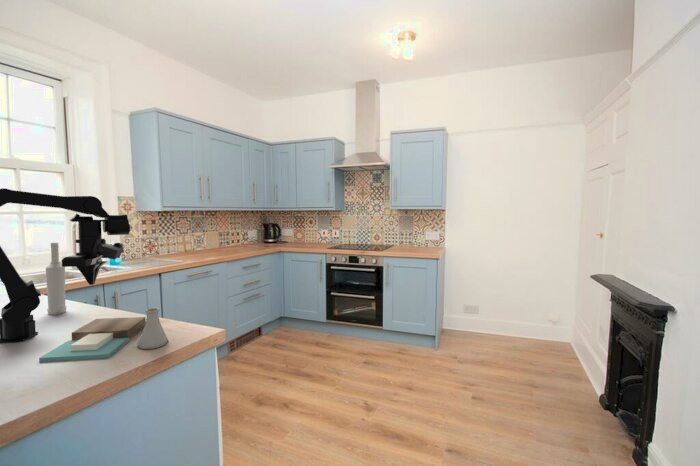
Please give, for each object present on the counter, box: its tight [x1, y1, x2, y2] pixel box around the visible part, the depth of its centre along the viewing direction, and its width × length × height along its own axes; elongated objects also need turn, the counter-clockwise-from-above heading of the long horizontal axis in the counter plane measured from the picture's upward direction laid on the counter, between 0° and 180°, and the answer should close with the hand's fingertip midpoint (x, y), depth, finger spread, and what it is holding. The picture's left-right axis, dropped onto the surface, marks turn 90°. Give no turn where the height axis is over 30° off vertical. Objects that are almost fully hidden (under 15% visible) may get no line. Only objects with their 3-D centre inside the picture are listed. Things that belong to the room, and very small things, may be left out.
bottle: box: [45, 241, 67, 316], centre depth 117 cm, size 5×5×25 cm
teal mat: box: [38, 338, 130, 363], centre depth 87 cm, size 15×11×1 cm
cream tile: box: [70, 333, 113, 351], centre depth 89 cm, size 6×8×2 cm
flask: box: [136, 307, 169, 350], centre depth 91 cm, size 7×7×10 cm
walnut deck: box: [71, 316, 146, 340], centre depth 99 cm, size 14×12×3 cm
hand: (91, 284), depth 106 cm, fingers closed
